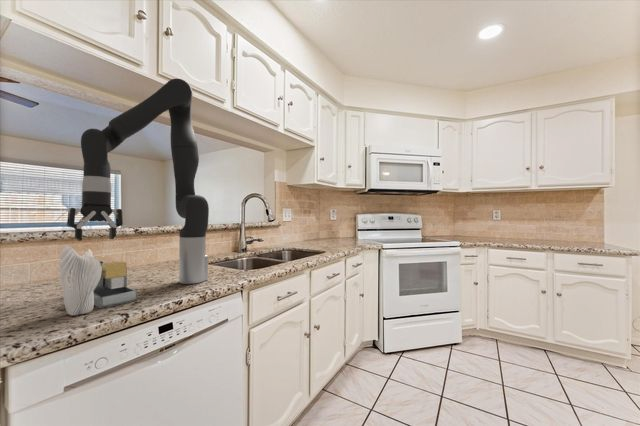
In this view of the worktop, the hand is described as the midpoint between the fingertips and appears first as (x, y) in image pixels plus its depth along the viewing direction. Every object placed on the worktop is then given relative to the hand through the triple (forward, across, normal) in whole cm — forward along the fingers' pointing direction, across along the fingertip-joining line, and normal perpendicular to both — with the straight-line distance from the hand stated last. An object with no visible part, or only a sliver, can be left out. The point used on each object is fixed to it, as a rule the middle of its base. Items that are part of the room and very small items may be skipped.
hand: (96, 239), depth 92 cm
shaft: (+15, 0, +9) cm, 18 cm away
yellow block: (+10, 0, +16) cm, 19 cm away
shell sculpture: (+18, +9, +20) cm, 28 cm away
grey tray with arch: (+17, 0, +14) cm, 22 cm away
